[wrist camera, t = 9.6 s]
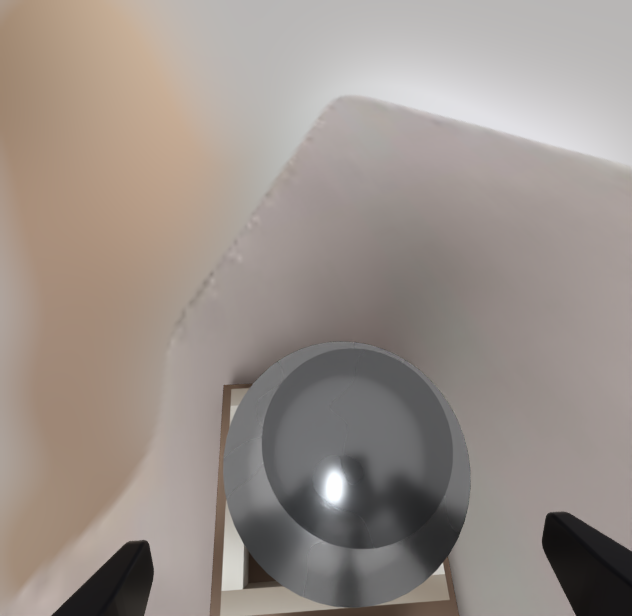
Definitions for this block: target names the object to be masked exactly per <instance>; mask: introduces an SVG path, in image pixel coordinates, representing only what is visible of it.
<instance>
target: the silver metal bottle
mask: <svg viewBox="0 0 632 616" xmlns="http://www.w3.org/2000/svg"><path fill="white" fill-rule="evenodd" d="M223 478H224V489H225V495H226V500H227V504H228V509H229V512H230V515H231V517H232V520H233V523H234V526H235V528H236V530H237V532H238V534H239V536H240V538H241V540H242V542H243V544H244V545H245V547H246V548H247V549H248V551H249V552H250V554H251V555H252V557H253V558H254V560H255V561H256V562H257V563H258V564H259V565H260V566H261V567H262V568H263V569H264V570H265V571H266V573H267V574H269V575H270V576H271V577H272V578H273V579H275V580H276V581H277V582H278V583H280V584H281V585H282V586H284V587H285V588H287V589H289V590H290V591H292V592H294V593H295V594H297V595H299V596H301V597H304V598H306V599H309V600H311V601H314V602H316V603H320V604H325V605H329V606H333V607H345V608H360V607H369V606H375V605H379V604H382V603H386V602H390V601H392V600H395V599H397V598H399V597H401V596H403V595H405V594H407V593H409V592H411V591H412V590H413V589H415V588H416V587H418V586H419V585H421V584H422V583H424V582H425V581H426V580H427V579H428V578H429V577H430V576H431V575H432V574H433V573H434V572H435V571H436V570H437V569H438V568H439V567H440V565H441V564H442V563H443V562H444V560H445V559H446V558H447V556H448V555H449V553H450V552H451V550H452V548H453V546H454V545H455V543H456V541H457V539H458V537H459V534H460V532H461V529H462V527H463V524H464V521H465V517H466V513H467V509H468V504H469V496H470V464H469V457H468V451H467V447H466V443H465V439H464V435H463V433H462V430H461V428H460V425H459V422H458V420H457V418H456V416H455V414H454V412H453V410H452V408H451V407H450V405H449V403H448V402H447V400H446V399H445V397H444V396H443V395H442V393H441V392H440V391H439V389H438V388H437V387H436V386H435V385H434V384H433V382H432V381H431V380H430V379H429V378H428V377H427V376H425V375H424V374H423V373H422V372H421V371H420V370H419V369H417V368H416V367H415V366H413V365H412V364H411V363H409V362H408V361H406V360H404V359H403V358H401V357H399V356H397V355H396V354H394V353H391V352H389V351H387V350H384V349H382V348H379V347H375V346H372V345H368V344H363V343H357V342H343V341H339V342H326V343H321V344H316V345H312V346H309V347H306V348H303V349H300V350H298V351H295V352H293V353H291V354H289V355H287V356H285V357H284V358H282V359H281V360H279V361H277V362H276V363H275V364H273V365H272V366H271V367H270V368H268V369H267V370H266V371H265V372H264V373H263V374H262V375H261V376H260V377H259V378H258V379H257V380H256V381H255V382H254V383H253V385H252V386H251V387H250V389H249V390H248V391H247V393H246V394H245V395H244V397H243V399H242V401H241V402H240V404H239V406H238V408H237V410H236V412H235V414H234V417H233V419H232V422H231V424H230V428H229V431H228V435H227V438H226V444H225V450H224V460H223Z"/></svg>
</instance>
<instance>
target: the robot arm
mask: <svg viewBox="0 0 632 616" xmlns="http://www.w3.org/2000/svg"><path fill="white" fill-rule="evenodd" d="M542 546H543V549H544V552H545V554H546V556H547V558H548V560H549V562H550V564H551V566H552V568H553V570H554V572H555V574H556V576H557V578H558V580H559V582H560V584H561V586H562V588H563V590H564V592H565V594H566V596H567V598H568V600H569V602H570V604H571V606H572V608H573V610H574V612H575V614H576V616H632V551H630V550H629V549H627V548H625V547H624V546H622V545H620V544H619V543H617V542H615V541H614V540H612V539H611V538H609V537H607V536H606V535H604V534H602V533H601V532H599V531H598V530H596V529H594V528H593V527H591V526H589V525H588V524H586V523H584V522H583V521H581V520H580V519H578V518H576V517H575V516H573V515H571V514H570V513H567V512H550V513H548V514H547V516H546V519H545V525H544V531H543V537H542ZM153 575H154V568H153V562H152V557H151V552H150V546H149V543H148V542H147V541H145V540H140V541H129V542H127V543H126V544H125V545H123V546H122V547H121V548H120V549H119V550H118V551H117V552H116V553H115V554H114V555H113V556H112V557H111V558H110V559H109V560H108V561H107V562H106V563H105V564H104V565H103V566H102V567H101V568H100V569H99V570H98V571H97V572H96V573H95V574H94V575H93V576H92V577H91V578H89V579H88V580H87V581H86V582H85V583H84V584H83V585H82V586H81V587H80V588H79V589H78V590H77V591H76V592H75V593H74V594H73V595H72V596H71V597H70V598H69V599H68V600H67V601H66V602H65V603H64V604H63V605H62V606H61V607H60V608H59V609H58V610H57V611H56V612H55V613H53V614H52V615H51V616H144V614H145V610H146V606H147V602H148V598H149V594H150V590H151V586H152V582H153Z"/></svg>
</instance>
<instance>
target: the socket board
mask: <svg viewBox="0 0 632 616" xmlns="http://www.w3.org/2000/svg"><path fill="white" fill-rule="evenodd" d="M252 385H253V384H235V385H224V388H223V405H222V421H221V438H220V455H219V471H218V488H217V505H216V521H215V538H214V554H213V571H212V588H211V604H210V616H459V613H458V607H457V602H456V597H455V592H454V586H453V581H452V576H451V571H450V566H449V560H448V556H447V558H446V559H445V560H444V562H443V563H442V564H441V565H440V567H439V568H438V569H437V570H436V571H435V572H434V573H433V574H432V575H431V576H430V577H429V578H428V579H427V580H426V581H425V582H424V583H422V584H421V585H419V586H418V587H416V588H415V589H413V590H412V591H411V592H409V593H407V594H405V595H403V596H401V597H399V598H397V599H395V600H392V601H390V602H386V603H382V604H379V605H375V606H369V607H360V608H345V607H333V606H329V605H325V604H320V603H316V602H314V601H311V600H309V599H306V598H304V597H301V596H299V595H297V594H295V593H294V592H292V591H290V590H289V589H287V588H285V587H284V586H282V585H281V584H280V583H278V582H277V581H276V580H275V579H273V578H272V577H271V576H270V575H269V574H267V573H266V571H265V570H264V569H263V568H262V567H261V566H260V565H259V564H258V563H257V562H256V561H255V560H254V558H253V557H252V555H251V554H250V552H249V551H248V549H247V548H246V547H245V545H244V544H243V542H242V540H241V538H240V536H239V534H238V532H237V530H236V528H235V526H234V523H233V520H232V517H231V515H230V512H229V509H228V504H227V500H226V495H225V489H224V478H223V460H224V450H225V444H226V438H227V435H228V431H229V428H230V424H231V422H232V419H233V417H234V414H235V412H236V410H237V408H238V406H239V404H240V402H241V401H242V399H243V397H244V395H245V394H246V393H247V391H248V390H249V389H250V387H251V386H252Z"/></svg>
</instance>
